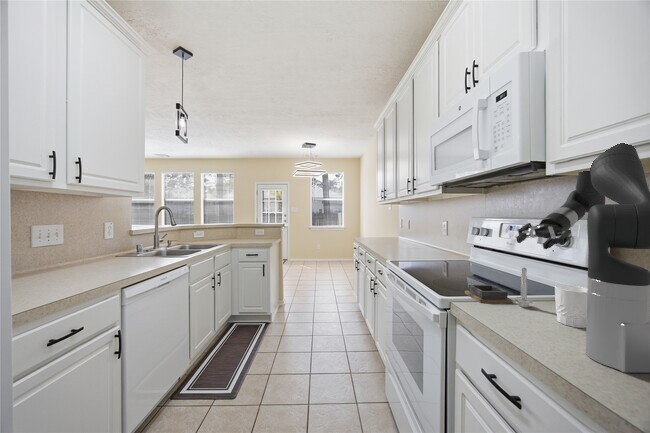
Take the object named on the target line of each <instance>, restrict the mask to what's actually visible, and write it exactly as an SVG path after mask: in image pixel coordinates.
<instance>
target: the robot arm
mask: <svg viewBox="0 0 650 433" xmlns="http://www.w3.org/2000/svg"><path fill="white" fill-rule="evenodd" d="M635 148H636V147H635ZM635 148H634V146H632V145H628V144H625V143H620V144H617V145H615V146H613V147H611V148H610V149H608V150H606V151H605V152H601V154H599V155H598V156H597V157H596V158H595V160H594V161H593V163H592V165H591V168H590V171H583V172H579V171H578V175H577V179H576V184H575V190H572V191H571V192H570V193H569V195H568V197H567V199H566V201H565V202H564V204H562V205H561V206H560V207H558V208H557V209H554V210H553V211H552V212H551V213H549V214H548V215H546V216H545V217H544V218H543V219H541V220H540V222H539V224H537V225H532V223H530V222H528V223H526V224H524V225H523V226H522V227H520V228H519V229H518V230H517V232H518V236H516V238H515V239H516V242H517V243H518V244H521V243H522V242H524V241H525V240H527V239H529V238H532V239H533V238H543V239H547V240H546V241H544V242H543V244H542V246H543V247H542V248H543V249H544V250H548V249H551V248H552V247H553V246H555V245H557V244H559V245H561V246H563V245H564V246H565V244H567V242H569V240H571V239H572V237H573V236H572V235H573V234H572V229H571V228H573V226H575V224H576V223H577V222H579V220H581V219H583V217H584V216H586V213H587V218H586V220H587V221H586V230H587V246H588V251H587V252H588V256H587V257H588V259H587V261H588V262H587V289H588V290H587V327H586V328H585V329H586V332H585V333H586V334H585V336H586V341H585V343H586V344H585V353H586V355H587V357H588V358H590V359H591V360H593V361H596V363H599V364H601V365H604V366H607V367H610V368H612V369H616V370H619V371H620V372H622V373H647V374H648V373H649V374H650V270H648V269H647V268H644V267H642V266H640V265H635V264H633V263H629V262H627V261H624V260H622V259H620V258H617V257H615V256H614V255H613V254H612V253H610V252H609V249H610V248H611V249H612V248H614V249H629V250H630V249H633V250H650V189H649V187H648V182H647V178H646V174H645V173H646V172H645V170H644V167H643V164H642V161H641V159H640V156H639V154H638V151H637V148H636V149H635ZM606 198H607V199H609V200H611V201H613V202H615V204H614V203H610V204H608V203H607V204H606Z"/></svg>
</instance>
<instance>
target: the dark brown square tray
mask: <svg viewBox="0 0 650 433" xmlns="http://www.w3.org/2000/svg"><path fill="white" fill-rule="evenodd" d="M464 294H465V295H466V296H469V297H470V298H471V299H474V300H475V301H477V302H478V303H480V304H481V303H483V304H484V303H485V304H486V303H487V304H489V303H493V304H496V303H497V304H498V303H500V304H502V303H504V304H508V303H509V304H510V303H511V304H512V303H513V299H511V298H509V296H508V291H507V290H505V289H502V288H500V287H498V286H496V285H493V284H468V290H464Z"/></svg>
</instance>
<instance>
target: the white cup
mask: <svg viewBox="0 0 650 433" xmlns="http://www.w3.org/2000/svg"><path fill="white" fill-rule="evenodd" d="M587 290H588V287H584V286H583V287H582V286H578V285H572V284H556V285H555V284H554V299H555V300H554V301H555V313H556V321H557V322H558V323H559V324H561V325H564V326H568V327H572V328H578V329H586V327H587Z"/></svg>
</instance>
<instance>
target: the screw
mask: <svg viewBox="0 0 650 433" xmlns="http://www.w3.org/2000/svg"><path fill="white" fill-rule="evenodd" d="M527 271H528V270H527V268H526V267H522V268H521V276H520V296H517V297H515V298H514V300H515V302H517V303H518V306H519V307H521V308H527V309H528V308H529V306H530V304H532V303H533V302H534V301H533V300H532V299H531V298H528V276H527Z"/></svg>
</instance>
